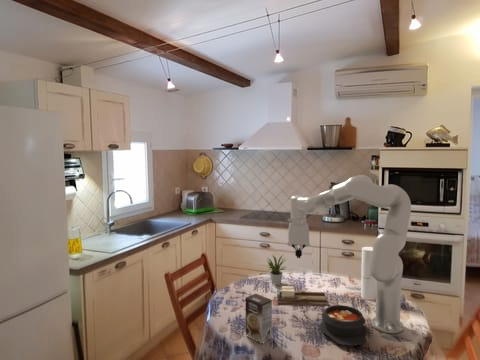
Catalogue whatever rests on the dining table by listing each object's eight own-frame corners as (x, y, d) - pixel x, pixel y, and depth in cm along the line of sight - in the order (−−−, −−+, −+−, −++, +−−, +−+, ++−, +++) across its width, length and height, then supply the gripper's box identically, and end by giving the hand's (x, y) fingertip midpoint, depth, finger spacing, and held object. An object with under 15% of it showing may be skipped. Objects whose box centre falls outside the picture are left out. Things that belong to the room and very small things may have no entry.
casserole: (378, 349, 131) (378, 328, 130) (329, 351, 130) (329, 329, 129) (354, 317, 156) (354, 299, 155) (313, 318, 155) (313, 300, 154)
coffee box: (245, 335, 141) (244, 297, 140) (255, 329, 146) (255, 292, 144) (261, 344, 135) (261, 304, 133) (272, 338, 139) (272, 299, 138)
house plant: (290, 278, 202) (290, 251, 201) (291, 288, 189) (291, 258, 187) (266, 278, 204) (265, 250, 202) (265, 287, 190) (265, 258, 188)
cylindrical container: (378, 300, 173) (379, 250, 170) (363, 300, 173) (364, 250, 170) (373, 294, 180) (374, 246, 177) (359, 294, 180) (359, 246, 178)
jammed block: (294, 299, 172) (294, 291, 171) (282, 299, 172) (282, 291, 172) (293, 294, 177) (293, 286, 177) (281, 294, 178) (281, 286, 178)
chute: (327, 305, 167) (327, 297, 167) (277, 304, 169) (277, 296, 169) (323, 295, 179) (324, 287, 179) (277, 294, 181) (277, 286, 181)
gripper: (283, 222, 168) (283, 259, 169) (314, 222, 166) (314, 259, 168) (282, 219, 175) (283, 255, 177) (312, 219, 174) (313, 255, 175)
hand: (298, 257), depth 172 cm, fingers closed
